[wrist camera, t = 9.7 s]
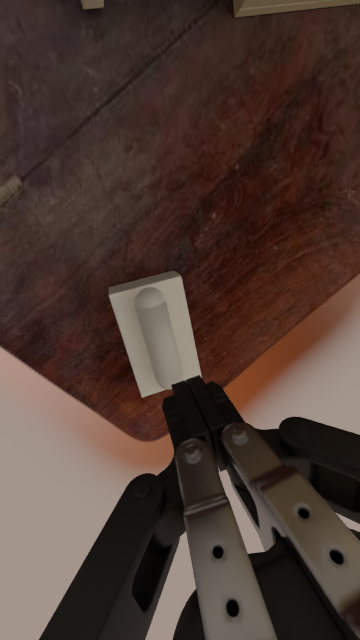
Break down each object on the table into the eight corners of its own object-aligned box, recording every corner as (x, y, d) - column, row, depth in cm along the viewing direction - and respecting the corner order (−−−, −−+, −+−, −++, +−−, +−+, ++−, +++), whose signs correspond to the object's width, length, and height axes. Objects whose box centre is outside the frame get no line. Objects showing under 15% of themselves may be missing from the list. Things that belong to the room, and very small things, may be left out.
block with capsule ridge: (194, 364, 26) (206, 385, 23) (138, 382, 25) (143, 406, 22) (174, 270, 22) (185, 278, 19) (108, 287, 22) (108, 299, 18)
